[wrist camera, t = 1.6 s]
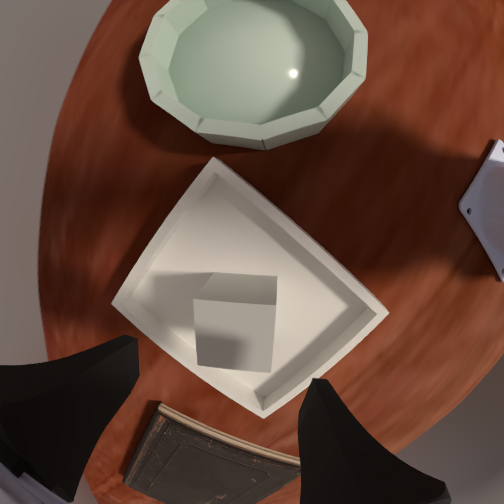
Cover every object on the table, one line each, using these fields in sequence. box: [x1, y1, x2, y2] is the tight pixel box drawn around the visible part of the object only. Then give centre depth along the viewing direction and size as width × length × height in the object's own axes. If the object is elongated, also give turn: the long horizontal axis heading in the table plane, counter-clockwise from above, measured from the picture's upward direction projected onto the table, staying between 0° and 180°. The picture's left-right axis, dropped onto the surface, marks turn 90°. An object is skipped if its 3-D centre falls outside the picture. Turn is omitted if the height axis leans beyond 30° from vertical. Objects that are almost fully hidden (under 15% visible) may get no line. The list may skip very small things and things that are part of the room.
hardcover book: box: [122, 401, 301, 504], centre depth 24 cm, size 16×23×2 cm
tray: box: [111, 157, 389, 419], centre depth 17 cm, size 14×12×2 cm
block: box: [193, 272, 278, 373], centre depth 16 cm, size 4×4×5 cm
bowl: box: [139, 0, 368, 151], centre depth 13 cm, size 13×13×4 cm
